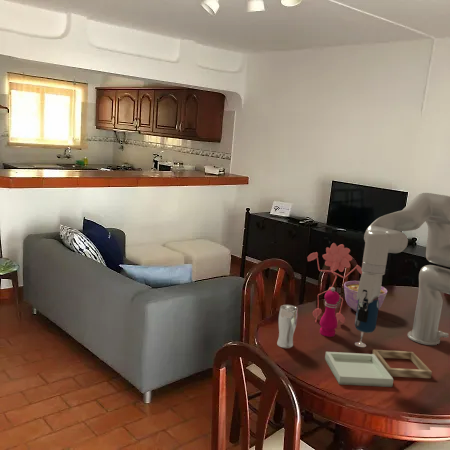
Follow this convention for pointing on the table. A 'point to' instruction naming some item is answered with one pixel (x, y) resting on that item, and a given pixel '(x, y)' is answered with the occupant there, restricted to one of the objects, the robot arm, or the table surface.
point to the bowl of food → (352, 291)
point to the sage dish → (358, 369)
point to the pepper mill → (329, 314)
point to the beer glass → (287, 325)
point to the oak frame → (398, 372)
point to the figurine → (336, 260)
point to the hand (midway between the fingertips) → (366, 317)
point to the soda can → (371, 319)
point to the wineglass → (360, 342)
